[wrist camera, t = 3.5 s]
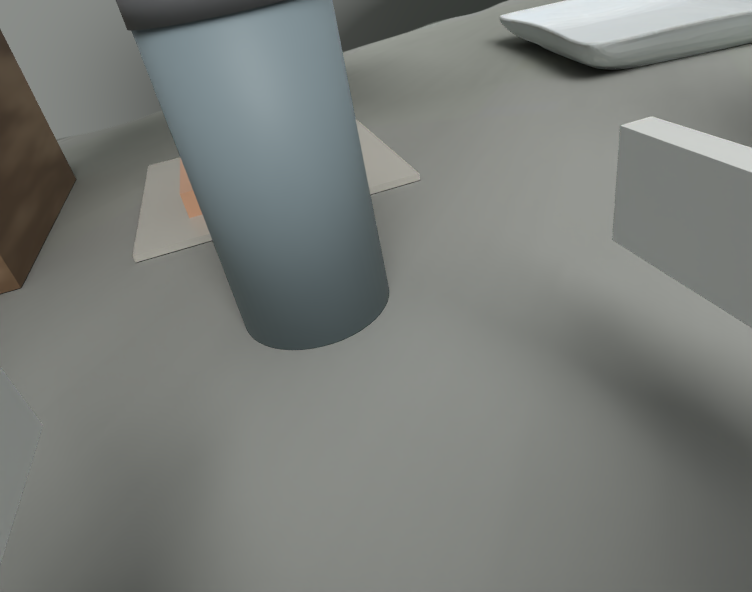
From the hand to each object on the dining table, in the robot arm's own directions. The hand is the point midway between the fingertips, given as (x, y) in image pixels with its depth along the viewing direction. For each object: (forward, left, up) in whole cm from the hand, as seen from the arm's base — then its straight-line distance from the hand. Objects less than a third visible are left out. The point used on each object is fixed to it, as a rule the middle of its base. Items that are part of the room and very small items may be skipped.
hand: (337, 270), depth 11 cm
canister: (0, +10, -7) cm, 12 cm away
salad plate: (+36, +34, -7) cm, 50 cm away
